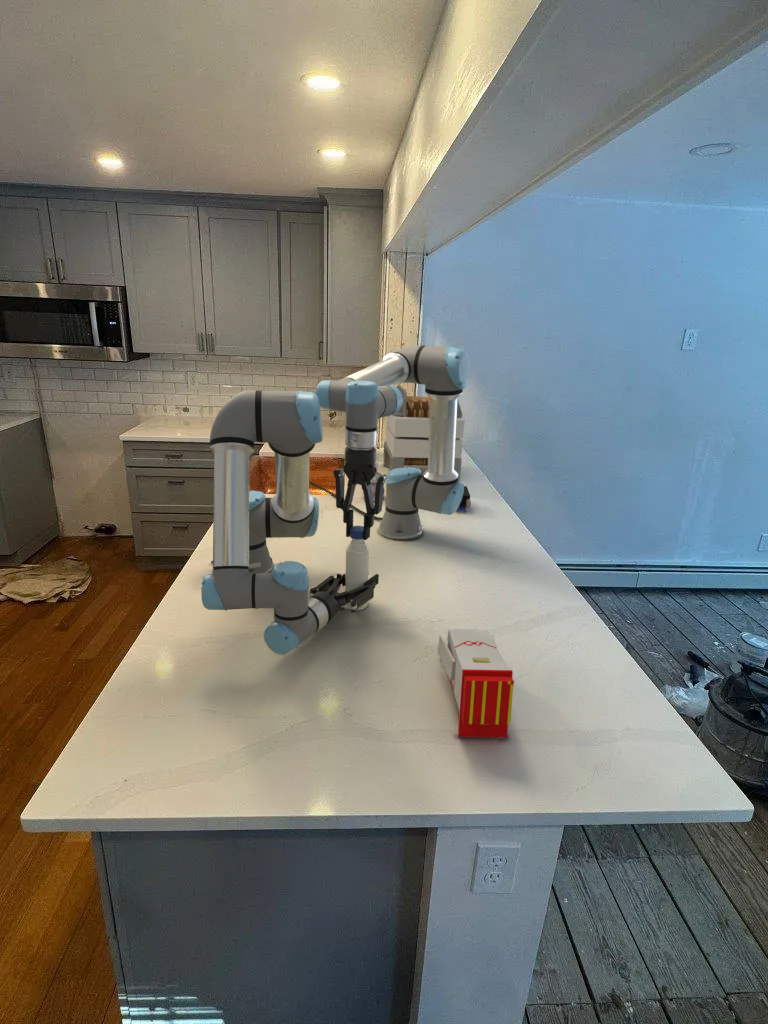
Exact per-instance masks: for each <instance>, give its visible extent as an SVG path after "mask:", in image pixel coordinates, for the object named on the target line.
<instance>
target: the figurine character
mask: <svg viewBox="0 0 768 1024" xmlns="http://www.w3.org/2000/svg"><path fill="white" fill-rule="evenodd" d="M471 501H472V500H471V494H470V491H469V488H468V486H467V485H464V493H463V497H462V500H461V502H460V505H459V507H458V509H457V510H456V511H457V512H460V510H463V511H464V513H466V512H467V509H470V508H471V505H472V504H471ZM466 508H467V509H466Z"/></svg>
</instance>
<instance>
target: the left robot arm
mask: <svg viewBox="0 0 768 1024" xmlns="http://www.w3.org/2000/svg"><path fill="white" fill-rule="evenodd" d="M321 410H322V409H321V407H320V403H319V398H318V396H317V395H316V392H313V391H304V390H257V389H247V390H243V391H240V392H239V393H236V394H235V395H234V396H232V397H231V398H230V399H228V400H227V402H225V403H224V404H223V406H222V407H221V408H220V410H219V411H218V413H217V414H216V417H215V418H214V421H213V423H212V425H211V430H210V435H209V451H210V452H211V453H212V454H213V455H214V457H213V518H212V519H213V525H212V560H211V562H210V563H211V564H212V572H211V573H210V574H205V575H204V576H203V578H202V581H201V591H200V592H201V604H202V605H203V608H205V609H206V610H207V611H225V612H227V611H230V610H231V611H233V610H247V609H248V610H250V609H251V610H252V609H253V610H255V609H256V610H258V609H262V610H263V609H273V620H272V621H271V622H270V623H269V624H268V625H267V626H266V627H265V630H264V632H263V639H264V642H265V644H266V646H267V648H268V649H269V650H271V652H273V653H274V654H277V655H279V656H284V655H288V654H289V653H291V652H293V651H294V650H295V649H296V650H297V649H298V648H299V647H300V646H301V645H302V644H303V643H305V642H306V641H307V640H308V639H310V637H312V636H313V635H315V634H316V633H318V632H319V631H320V630H321V629H322V628H324V627H325V626H326V625H327V624H329V623H331V622H332V621H333V620H334V619H336V617H337V616H338V615H339V613H340V612H342V611H344V610H347V609H348V610H350V612H351V613H352V614H353V613H357V611H358V610H357V609H358V608H359V607H360V606H362V605H363V604H365V603H366V602H367V603H368V602H369V601H370V600H372V599H373V598H374V595H375V589H376V586H378V585H379V580H380V577H379V576H380V574H379V573H375V574H374V575H372V576H370V578H368V580H367V581H366V582H365V583H364V586H361V587H359V588H356V589H354V590H351V591H348V592H347V591H345V590H344V591H342V592H338V591H339V590H340V588H341V587H345V573H343V574H341V573H336V577H335V576H334V575H330V576H328V577H327V578H325V579H324V580H323V581H322V582H320V583H319V584H317V585H316V586H314V587H311V588H310V589H309V587H310V586H309V575H308V568H307V567H306V565H304V564H303V563H301V562H299V561H295V560H285V561H284V562H278V563H276V564H275V565H274V561H273V557H271V555H270V554H271V553H270V551H269V548H268V545H267V539H273V538H275V539H278V538H279V539H280V538H282V539H283V538H284V539H285V538H299V539H304V538H311V537H313V536H315V535H316V533H317V530H318V526H319V518H320V517H319V516H320V514H319V513H320V503H319V499H318V498H317V497H314V496H313V495H312V494H311V492H310V484H309V481H310V455H311V454H310V453H311V452H312V451H313V450H314V448H315V446H316V445H317V444H319V443H322V442H323V438H324V437H323V422H322V411H321ZM255 443H267V445H268V447H269V448H270V450H271V451H272V452H273V453H274V464H275V465H274V466H275V480H276V481H275V482H276V483H275V485H276V493H275V494H274V495H273V497H266V494H265V493H264V492H263V491H261V490H250V457H251V455H252V454H253V453H254V452H255Z"/></svg>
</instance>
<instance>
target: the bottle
mask: <svg viewBox="0 0 768 1024" xmlns="http://www.w3.org/2000/svg"><path fill="white" fill-rule="evenodd" d="M369 563H370V549H369V547H368V545H367V543H366V540H363V539H353V538H351V540H350V542H349V543H348V545H347V547H346V549H345V571H344V572H345V573H344V574H345V586H344V591H347V592H348V591H351V590H354V589H356V588H359V587H361V586H364V583H365V582H366V581H367V580H369V567H370V566H369ZM367 607H368V602H366V603H365V604H363V605H362V606H360V607H359V608H358V609H357V611H362V610H364V609H366V608H367Z"/></svg>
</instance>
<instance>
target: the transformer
mask: <svg viewBox="0 0 768 1024" xmlns="http://www.w3.org/2000/svg"><path fill="white" fill-rule="evenodd" d="M396 387H397V388H398V389H399V390H400V392H401V394H402V397H403V403H402V406H401V408H400V410H399V411H398V412H396V413H394V414H393V415H391V416H386V417H385V423H386V428H385V438H384V442H383V466H384V467H388V468H389V472H390V471H391V470H393V469H397V468H405V466H406V467H409V466H411V467H417V466H418V467H428V444H429V408H430V397H429V396H415V395H414V396H413V395H412V396H411V395H407V394H408V393H407V390H406V389H404V388H403V387H402V385H401V384H398V385H396ZM464 429H465V419H464V418H463V411H462V408H461V405H460V402H459V397H458V398H457V418H456V438H455V458H454V470H455V471H456V472H457V473H458V481H461V472H462V461H463V460H462V453H463V442H464V441H463V440H462V439H463V438H464V431H465V430H464Z"/></svg>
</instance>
